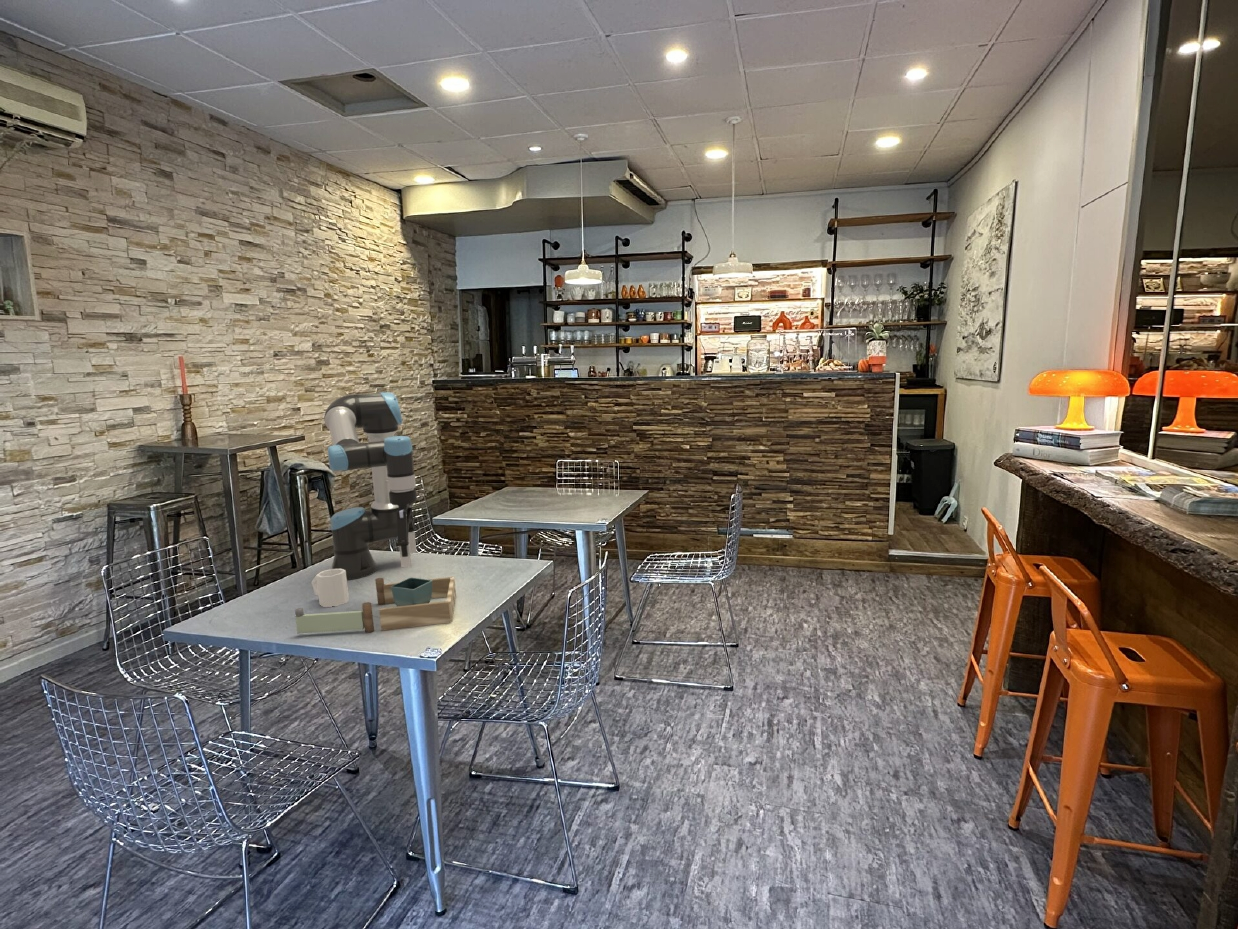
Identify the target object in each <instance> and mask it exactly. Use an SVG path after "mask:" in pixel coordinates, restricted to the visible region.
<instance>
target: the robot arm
mask: <svg viewBox="0 0 1238 929" xmlns="http://www.w3.org/2000/svg"><path fill="white" fill-rule="evenodd" d="M402 424H403V417H402V412H401V408H400V404H399V401H398V399H397V396H396V395H395V393H392V392H372V393H371V392H369V393H358V394H353V393H352V394H347V395H343V396H341V397H338V398H337V399H335V400H334V401H333V402H331V403H330V404H329V405H328V407H327V408H326V410H325V412H324V425H325V426H326V428H327V429H328V430H329V432H330V437H331V442H332V445H330V446H328V447H327V455H328V456H327V457H328V465H329V469H330V470H331V471H332V472H335V471H336V472H337V471H340V472H341V471H343V472H345V471H352V470H358V469H367V468H371V473H372V474H371V476H372V485H373V495H374V496H373V497H374V501H373V502H372V503H371V504H370V510H366V509H365V508H364V507H362V506H360V507H350V508H346V509H343V510H341V511H338V512H335V513H334V514H333V515H332V516H331V518H330V526H331V527H330V530H331V534H332V543H333V544H332V545H333V553H334V554H333V555H334V556H333V560H332V564H331V569H343V570H346V578H347V581H349V580H355V579H360V578H365V577H367V576H370V575H372V574H374V573H375V572H377V565H376V561H375V560H374V558H373V555H372V553H371V552H370V545H369V543H376V542H382V541H390V540H391V541H392V540H397V542H396V544H395V545H396V547H398V548H399V558H400V566H401V568H408V567H409V568H410V567H412V558H411V554H415V553H417V545H416V535H415V534H416V533H415V532H417V530H418V529H417V527H416V524H415V520H414V514H413V507H412V504H414V503H416V502H417V501H418V499H417V498H418V497H417V496H418V495H417V490H416V488H417V483H416V474H415V470H414V469H415V468H414V456H413V448H414V447H413V445H412V439H411V438H410V437H409V436H407V435H395V434H396V433H397V432H398V431H399V426H400V425H402ZM361 428H362V430H363V433H364V434H365V435H366V436H368V441H367V442H360V440H359V436H358V433H357V430H356V429H361Z"/></svg>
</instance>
